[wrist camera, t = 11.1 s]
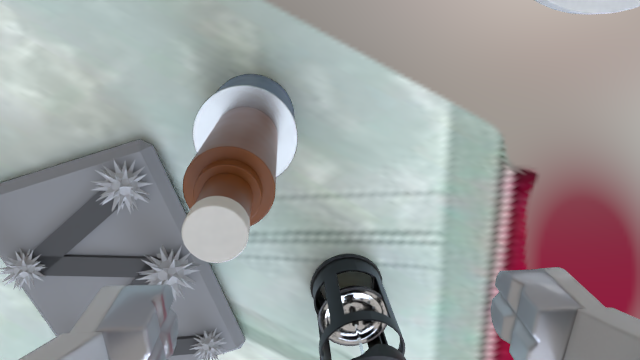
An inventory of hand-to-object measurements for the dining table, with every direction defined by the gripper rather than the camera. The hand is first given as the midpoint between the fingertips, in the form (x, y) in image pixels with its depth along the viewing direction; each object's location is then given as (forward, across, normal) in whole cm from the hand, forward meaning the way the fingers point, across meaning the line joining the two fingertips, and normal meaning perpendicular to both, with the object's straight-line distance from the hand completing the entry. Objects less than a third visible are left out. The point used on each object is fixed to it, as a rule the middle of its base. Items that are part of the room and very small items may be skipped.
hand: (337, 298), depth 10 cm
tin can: (+36, +6, +4) cm, 37 cm away
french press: (+36, -5, +27) cm, 45 cm away
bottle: (+27, +5, +4) cm, 28 cm away
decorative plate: (+36, +23, +23) cm, 48 cm away
